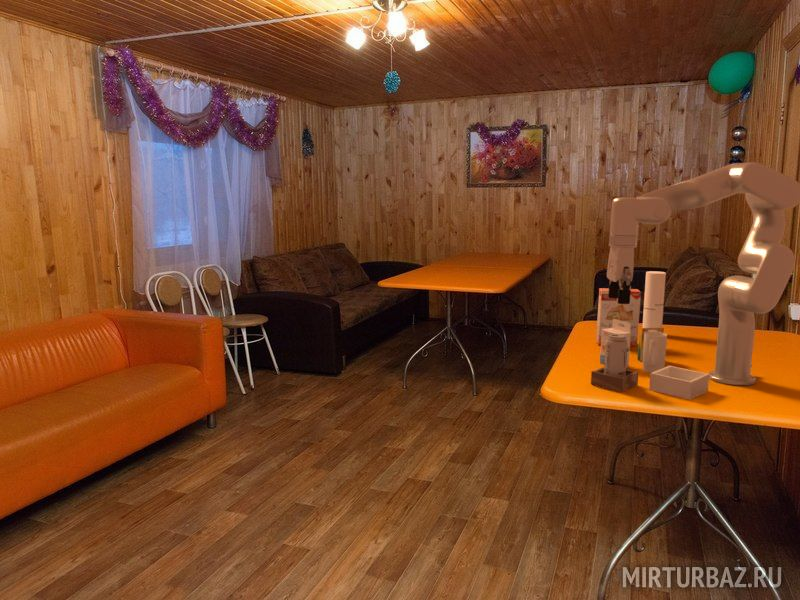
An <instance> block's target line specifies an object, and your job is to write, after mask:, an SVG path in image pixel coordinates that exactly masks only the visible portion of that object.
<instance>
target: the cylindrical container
mask: <svg viewBox="0 0 800 600" xmlns="http://www.w3.org/2000/svg"><path fill="white" fill-rule="evenodd" d="M666 277H667V272H664V271H655V270H654V271H652V270H650V271H646V272H645V281H644V282H645V284H644V296H643V297H644V298H643V299H644V300H643V312H642V313H643V314H642V315H643V316H642V328H663V318H664V303H665V291H666V288H665V287H666ZM642 328H641V329H642ZM648 331H649V332H657V331H658V330H654V329H652V330H648Z"/></svg>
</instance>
